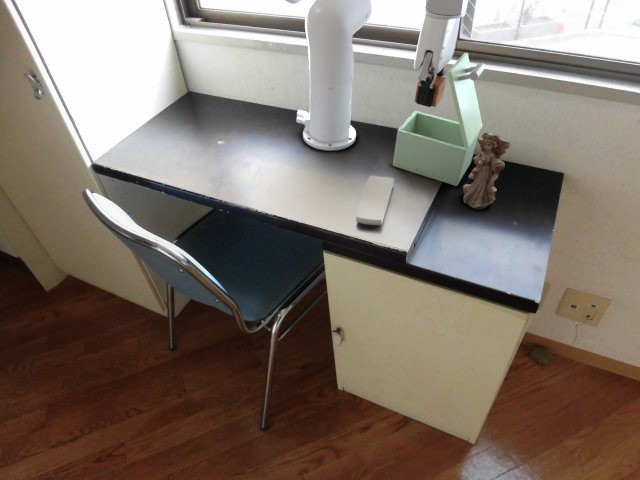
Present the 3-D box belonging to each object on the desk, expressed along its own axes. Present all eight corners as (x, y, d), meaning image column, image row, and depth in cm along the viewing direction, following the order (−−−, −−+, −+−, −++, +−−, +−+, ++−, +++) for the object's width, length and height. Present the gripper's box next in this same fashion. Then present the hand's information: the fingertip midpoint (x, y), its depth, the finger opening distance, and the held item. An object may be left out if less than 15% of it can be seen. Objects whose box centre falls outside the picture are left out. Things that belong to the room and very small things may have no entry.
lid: (447, 72, 86) (471, 66, 83) (463, 53, 92) (486, 48, 89) (464, 148, 93) (487, 146, 90) (479, 126, 99) (500, 123, 97)
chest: (392, 165, 104) (397, 130, 98) (409, 144, 111) (415, 110, 105) (456, 186, 99) (466, 150, 93) (470, 163, 105) (480, 128, 99)
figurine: (451, 200, 96) (469, 134, 85) (464, 186, 99) (482, 121, 89) (486, 215, 92) (508, 148, 82) (498, 200, 96) (521, 134, 86)
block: (414, 101, 95) (417, 80, 92) (422, 93, 98) (425, 72, 95) (435, 107, 94) (439, 86, 91) (442, 98, 97) (446, 77, 94)
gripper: (441, -12, 90) (425, 80, 103) (408, 13, 80) (394, 112, 92) (480, -6, 88) (459, 88, 100) (451, 21, 77) (431, 122, 89)
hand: (428, 98), depth 96 cm, fingers closed on block, 4 cm apart
